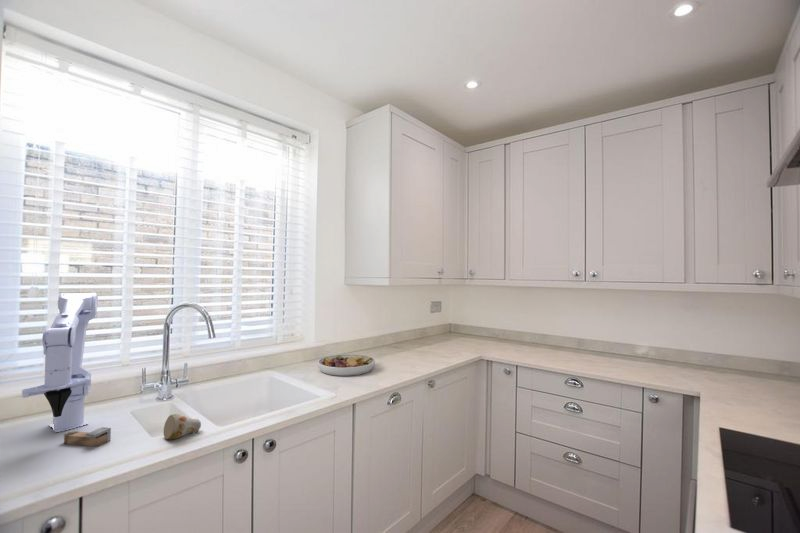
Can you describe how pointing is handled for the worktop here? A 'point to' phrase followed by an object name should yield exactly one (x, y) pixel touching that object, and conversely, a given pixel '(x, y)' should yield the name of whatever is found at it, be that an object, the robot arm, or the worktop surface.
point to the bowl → (346, 364)
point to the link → (84, 438)
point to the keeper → (100, 431)
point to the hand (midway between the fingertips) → (57, 416)
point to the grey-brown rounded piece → (180, 426)
